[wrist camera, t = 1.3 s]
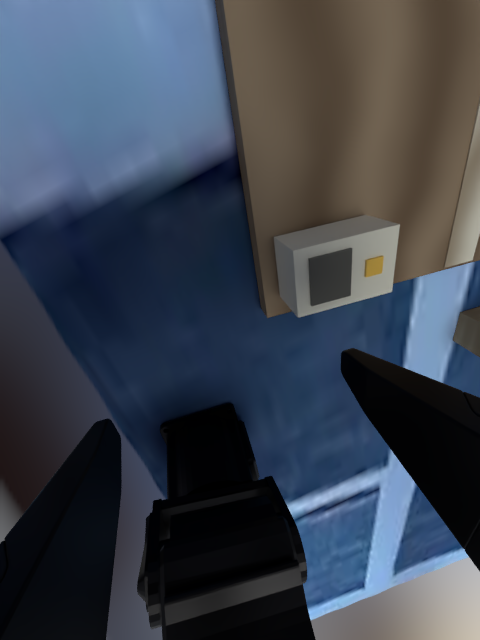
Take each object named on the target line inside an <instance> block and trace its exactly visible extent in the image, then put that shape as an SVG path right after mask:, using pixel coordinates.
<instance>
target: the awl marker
mask: <svg viewBox="0 0 480 640" xmlns="http://www.w3.org/2000/svg"><path fill="white" fill-rule="evenodd" d="M453 341H455V342H456V343H458V344H459V345H461V346H463V347H464V348H466V349H467V350H469V351H471V352H472V353H474V354H475V355H477V356H479V357H480V307H477V308H473V309H470V310H466V311H463V312H460V315H459V319H458V323H457V327H456V330H455V334H454V338H453Z"/></svg>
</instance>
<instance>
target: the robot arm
mask: <svg viewBox="0 0 480 640" xmlns="http://www.w3.org/2000/svg"><path fill="white" fill-rule="evenodd" d="M341 372H342V375H343V377H344V379H345V380H346V382H347V384H348V386H349V387H350V389H351V391H352V393H353V394H354V396H355V398H356V399H357V401H358V403H359V405H360V406H361V408H362V410H363V411H364V413H365V414H366V416H367V417H368V419H369V420H370V421H371V423H372V424H373V425H374V427H375V428H376V430H377V431H378V432H379V434H380V435H381V436H382V438H383V439H384V440H385V442H386V443H387V445H388V446H389V447H390V449H391V450H392V451H393V453H394V454H395V456H396V457H397V458H398V460H399V461H400V462H401V464H402V465H403V467H404V468H405V469H406V471H407V472H408V473H409V475H410V476H411V477H412V479H413V480H414V482H415V483H416V484H417V486H418V487H419V488H420V490H421V491H422V493H423V494H424V495H425V497H426V498H427V499H428V501H429V502H430V504H431V505H432V506H433V508H434V509H435V510H436V512H437V513H438V514H439V516H440V517H441V519H442V520H443V521H444V523H445V524H446V525H447V527H448V528H449V530H450V531H451V532H452V534H453V535H454V536H455V538H456V539H457V541H458V542H459V543H460V545H461V546H462V547H463V548H464V549H465V552H466V553H467V555H468V556H469V557H470V558H471V560H472V561H473V563H474V564H475V565H476V567H477V568H478V570H479V571H480V398H479V397H476V396H474V395H471V394H469V393H466V392H462V391H461V390H459V389H456V388H453V387H451V386H448V385H446V384H443V383H441V382H438V381H436V380H433V379H431V378H428V377H426V376H423V375H421V374H418V373H415V372H413V371H410V370H408V369H405V368H403V367H400V366H398V365H395V364H393V363H390V362H388V361H385V360H383V359H380V358H377V357H375V356H372V355H370V354H367V353H365V352H362V351H360V350H357V349H354V348H351V349H348V350H344V351H342V353H341ZM228 409H230V410H228ZM160 433H161V435H162V437H163V439H164V441H165V443H166V445H167V497H168V499H166V500H161V499H159V500H154V501H153V511H152V513H150V515H149V516H148V517H147V518H146V534H145V546H144V551H143V557H142V562H141V567H140V572H139V577H138V585H137V592H138V595H139V596H140V597H141V598H142V599H143V600H144V601H145V602H146V609H147V612H149V622H150V627H151V629H154V628H157V627H161V626H162V636H163V640H315V636H314V632H313V628H312V625H311V621H310V617H309V613H308V609H307V604H306V599H305V594H304V589H303V583H305V582H306V580H307V566H306V559H305V553H304V549H303V545H302V541H301V538H300V535H299V532H298V529H297V526H296V524H295V522H294V519H293V517H292V515H291V513H290V511H289V509H288V507H287V505H286V503H285V501H284V499H283V497H282V495H281V493H280V491H279V489H278V487H277V485H276V483H275V481H274V479H273V477H272V476H268V477H265V479H261V480H258V478H259V473H258V469H257V465H256V460H255V457H254V454H253V450H252V447H251V444H250V441H249V437H248V434H247V431H246V428H245V424H244V422H243V421H238V419H237V415H236V412H235V408H234V405H233V404H226V405H222V406H219V407H216V408H213V409H209V410H206V411H203V412H199V413H196V414H193V415H189V416H186V417H183V418H180V419H176V420H173V421H170V422H166V423H164V424H162V425H161V426H160ZM120 499H121V438H120V435H119V433H118V431H117V429H116V428H115V426H114V424H113V423H112V421H111V420H110V419H105V420H101V421H97V422H96V423H95V424H94V425H93V426H92V427H91V429H90V430H89V431H88V432H87V433H86V435H85V436H84V437H83V439H82V440H81V441H80V442H79V444H78V445H77V447H76V448H75V449H74V450H73V451H72V453H71V454H70V455H69V456H68V458H67V459H66V460H65V462H64V463H63V464H62V465H61V467H60V468H59V469H58V471H57V472H56V473H55V474H54V476H53V477H52V478H51V479H50V481H49V482H48V483H47V485H46V486H45V487H44V488H43V490H42V491H41V492H40V494H39V495H38V496H37V498H36V499H35V500H34V501H33V502H32V504H31V505H30V506H29V508H28V509H27V510H26V511H25V513H24V514H23V515H22V517H21V518H20V519H19V521H18V522H17V523H16V524H15V526H14V527H13V528H12V529H11V531H10V532H9V533H8V534H7V536H6V537H5V541H2V542H1V544H0V640H106V632H107V622H108V612H109V604H110V595H111V584H112V575H113V565H114V556H115V545H116V537H117V528H118V518H119V508H120Z"/></svg>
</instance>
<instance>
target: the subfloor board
mask: <svg viewBox="0 0 480 640" xmlns="http://www.w3.org/2000/svg"><path fill="white" fill-rule="evenodd" d="M215 4H216V11H217V17H218V24H219V31H220V37H221V44H222V51H223V57H224V64H225V71H226V77H227V84H228V91H229V97H230V104H231V111H232V117H233V124H234V131H235V137H236V144H237V151H238V157H239V164H240V171H241V177H242V184H243V191H244V197H245V204H246V211H247V217H248V224H249V231H250V237H251V244H252V251H253V257H254V264H255V271H256V277H257V284H258V291H259V297H260V304H261V309H262V310H263V312H264V313H265V315H266V317H267V318H269V317H273V316H277V315H280V314H284V313H287V312H291V311H292V310H291V309H290V308H289V307H288V305H287V304H286V303H285V302H284V301H283V299H282V298H281V297H280V292H279V283H278V273H277V264H276V255H275V245H274V237H275V236H280V235H284V234H288V233H292V232H296V231H300V230H305V229H309V228H313V227H317V226H321V225H325V224H329V223H334V222H338V221H342V220H346V219H350V218H354V217H359V216H363V215H369V216H372V217H376V218H379V219H383V220H387V221H390V222H394V223H397V224H400V229H399V237H398V245H397V253H396V262H395V270H394V278H393V284H394V283H397V282H401V281H405V280H408V279H412V278H416V277H419V276H423V275H427V274H430V273H434V272H438V271H441V270H445V269H449V268H452V267H456V266H460V265H463V264H467V263H471V262H474V261H478V260H480V0H215Z"/></svg>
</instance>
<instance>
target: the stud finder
mask: <svg viewBox="0 0 480 640" xmlns="http://www.w3.org/2000/svg"><path fill="white" fill-rule="evenodd" d="M399 229H400V224H397V223H394V222H390V221H387V220H383V219H379V218H376V217H372V216H369V215H363V216H359V217H354V218H350V219H346V220H342V221H338V222H334V223H329V224H325V225H321V226H317V227H313V228H309V229H305V230H300V231H296V232H292V233H288V234H284V235H280V236H275V237H274V245H275V255H276V264H277V273H278V283H279V292H280V297H281V298H282V299H283V301H284V302H285V303H286V304H287V305H288V307H289V308H290V309H291V310H292V311H293V312H294V314H295V315H296V316H297V317H298V318H299V317H303V316H306V315H310V314H314V313H317V312H321V311H324V310H328V309H332V308H335V307H339V306H342V305H346V304H350V303H353V302H357V301H361V300H364V299H368V298H371V297H375V296H379V295H382V294H386V293H389V292H392V287H393V278H394V270H395V262H396V253H397V245H398V237H399Z"/></svg>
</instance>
